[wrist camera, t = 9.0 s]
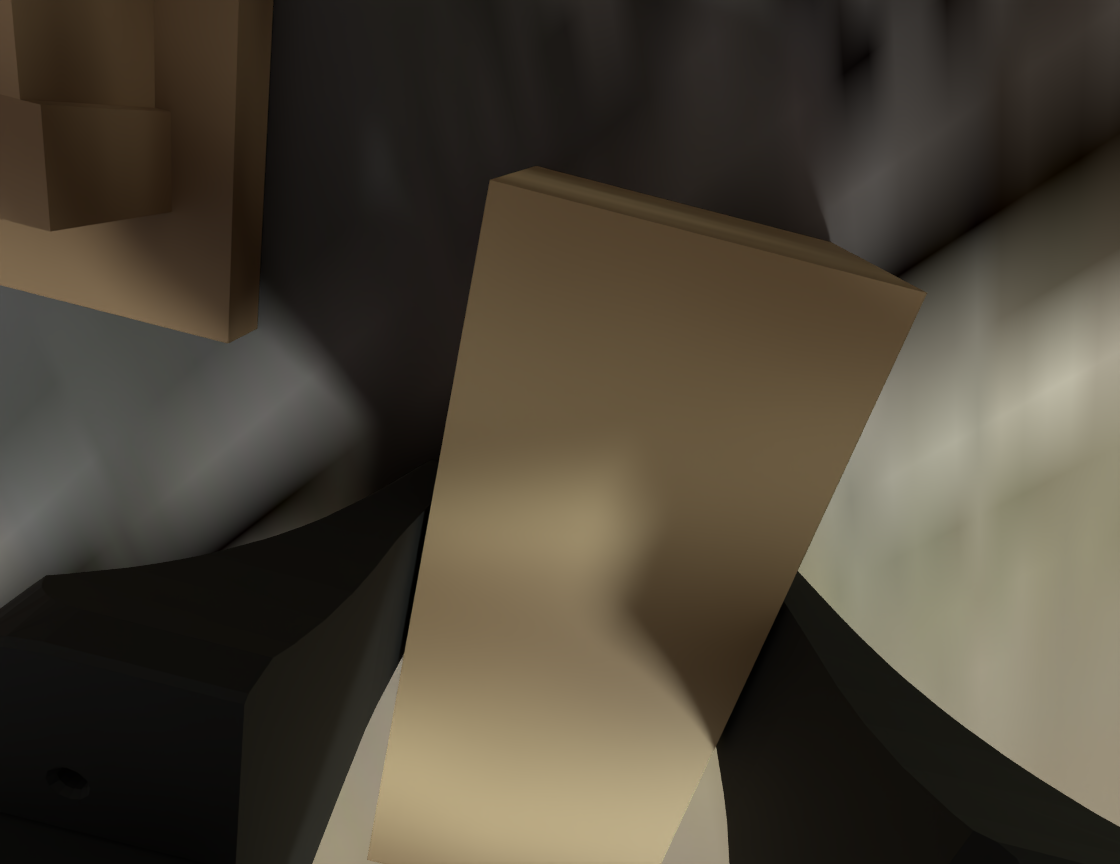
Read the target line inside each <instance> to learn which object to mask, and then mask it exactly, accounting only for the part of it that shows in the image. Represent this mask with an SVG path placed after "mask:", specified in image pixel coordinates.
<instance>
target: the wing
mask: <svg viewBox="0 0 1120 864" xmlns="http://www.w3.org/2000/svg"><path fill="white" fill-rule="evenodd" d="M926 294H927V293H926V292H924V291H922V290H920V289H918V288H916V287H915V286H913V285H911V284H909V283H907V282H905V281H903V280H901V279H899V278H898V277H896V276H894V275H892V274H890V273H888V272H886V271H884V270H882V269H881V268H879V267H877V266H875V265H873V264H871V263H869V262H867V261H865V260H864V259H862V258H860V257H858V256H856V255H854V254H852V253H850V252H848V251H846V250H845V249H843V248H841V247H839V246H837V245H835V244H833V243H831V242H828V241H824V240H820V239H817V238H813V237H809V236H805V235H801V234H797V233H793V232H790V231H786V230H782V229H778V228H774V227H770V226H766V225H763V224H759V223H755V222H751V221H747V220H743V219H739V218H736V217H732V216H728V215H724V214H720V213H716V212H712V211H709V210H705V209H701V208H697V207H693V206H689V205H685V204H681V203H678V202H674V201H670V200H666V199H662V198H658V197H654V196H651V195H647V194H643V193H639V192H635V191H631V190H627V189H624V188H620V187H616V186H612V185H608V184H604V183H600V182H597V181H593V180H589V179H585V178H581V177H577V176H573V175H570V174H566V173H562V172H558V171H554V170H550V169H546V168H543V167H539V166H534V167H531V168H527V169H524V170H521V171H518V172H514V173H511V174H508V175H504V176H501V177H498V178H494V179H491V180H490V182H489V187H488V193H487V198H486V204H485V209H484V215H483V221H482V226H481V232H480V237H479V243H478V248H477V254H476V259H475V265H474V270H473V276H472V281H471V287H470V293H469V298H468V304H467V309H466V315H465V320H464V326H463V331H462V337H461V342H460V348H459V353H458V359H457V365H456V370H455V376H454V381H453V387H452V392H451V398H450V403H449V409H448V414H447V420H446V425H445V431H444V437H443V442H442V448H441V453H440V459H439V464H438V470H437V475H436V481H435V486H434V492H433V497H432V503H431V509H430V514H429V520H428V525H427V531H426V536H425V542H424V547H423V553H422V558H421V564H420V569H419V575H418V581H417V586H416V592H415V597H414V603H413V608H412V614H411V619H410V625H409V630H408V636H407V641H406V647H405V653H404V658H403V664H402V669H401V675H400V680H399V686H398V691H397V697H396V702H395V708H394V713H393V719H392V725H391V730H390V736H389V741H388V747H387V752H386V758H385V763H384V769H383V774H382V780H381V785H380V791H379V797H378V802H377V808H376V813H375V819H374V824H373V830H372V835H371V841H370V846H369V852H368V857H367V860H370V861H374V862H378V863H382V864H661V863H662V861H663V859H664V856H665V854H666V852H667V850H668V848H669V846H670V844H671V841H672V839H673V837H674V835H675V833H676V831H677V829H678V826H679V824H680V822H681V820H682V818H683V816H684V814H685V811H686V809H687V807H688V805H689V803H690V801H691V799H692V796H693V794H694V792H695V790H696V788H697V786H698V783H699V781H700V779H701V777H702V775H703V773H704V771H705V768H706V766H707V764H708V762H709V760H710V758H711V756H712V753H713V751H714V749H715V747H716V745H717V743H718V741H719V738H720V736H721V734H722V732H723V730H724V728H725V726H726V723H727V721H728V719H729V717H730V715H731V713H732V711H733V708H734V706H735V704H736V702H737V700H738V698H739V695H740V693H741V691H742V689H743V687H744V685H745V683H746V680H747V678H748V676H749V674H750V672H751V670H752V668H753V665H754V663H755V661H756V659H757V657H758V655H759V653H760V650H761V648H762V646H763V644H764V642H765V640H766V638H767V635H768V633H769V631H770V629H771V627H772V625H773V623H774V620H775V618H776V616H777V614H778V612H779V610H780V607H781V605H782V603H783V601H784V599H785V597H786V595H787V592H788V590H789V588H790V586H791V584H792V582H793V580H794V577H795V575H796V573H797V571H798V569H799V567H800V565H801V562H802V560H803V558H804V556H805V554H806V552H807V550H808V547H809V545H810V543H811V541H812V539H813V537H814V535H815V532H816V530H817V528H818V526H819V524H820V522H821V520H822V517H823V515H824V513H825V511H826V509H827V507H828V504H829V502H830V500H831V498H832V496H833V494H834V492H835V489H836V487H837V485H838V483H839V481H840V479H841V477H842V474H843V472H844V470H845V468H846V466H847V464H848V462H849V459H850V457H851V455H852V453H853V451H854V449H855V447H856V444H857V442H858V440H859V438H860V436H861V434H862V432H863V429H864V427H865V425H866V423H867V421H868V419H869V416H870V414H871V412H872V410H873V408H874V406H875V404H876V401H877V399H878V397H879V395H880V393H881V391H882V389H883V386H884V384H885V382H886V380H887V378H888V376H889V374H890V371H891V369H892V367H893V365H894V363H895V361H896V359H897V356H898V354H899V352H900V350H901V348H902V346H903V344H904V341H905V339H906V337H907V335H908V333H909V331H910V328H911V326H912V324H913V322H914V320H915V318H916V316H917V313H918V311H919V309H920V307H921V305H922V303H923V301H924V298H925V296H926Z"/></svg>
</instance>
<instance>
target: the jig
mask: <svg viewBox="0 0 1120 864" xmlns="http://www.w3.org/2000/svg"><path fill="white" fill-rule="evenodd" d="M272 18H273V0H0V285H2V286H6V287H10V288H14V289H18V290H22V291H26V292H30V293H34V294H38V295H41V296H45V297H49V298H53V299H57V300H61V301H65V302H69V303H73V304H76V305H80V306H84V307H88V308H92V309H96V310H100V311H104V312H108V313H112V314H115V315H119V316H123V317H127V318H131V319H135V320H139V321H143V322H147V323H151V324H154V325H158V326H162V327H166V328H170V329H174V330H178V331H182V332H186V333H189V334H193V335H197V336H201V337H205V338H209V339H213V340H217V341H221V342H225V343H230V342H232V341H234V340H236V339H238V338H240V337H242V336H244V335H246V334H248V333H249V332H251V331H253V330H255V329H257V322H258V302H259V281H260V261H261V241H262V221H263V200H264V180H265V160H266V140H267V119H268V99H269V79H270V59H271V39H272Z"/></svg>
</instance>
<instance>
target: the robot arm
mask: <svg viewBox="0 0 1120 864" xmlns="http://www.w3.org/2000/svg"><path fill="white" fill-rule="evenodd" d="M438 464H439V462H438V461H434V460H430V461H428V462H427V463H425V464H423V465H421V466H419V467H418V468H416V469H414V470H413V471H411V472H409V473H408V474H406V475H404V476H403V477H401V478H399V479H398V480H396V481H394V482H392V483H391V484H389V485H387V486H386V487H384V488H382V489H380V490H378V491H377V492H375V493H373V494H371V495H369V496H368V497H366V498H364V499H362V500H360V501H358V502H356V503H354V504H352V505H350V506H348V507H346V508H344V509H341V510H339V511H337V512H335V513H333V514H331V515H329V516H327V517H324V518H322V519H320V520H317V521H315V522H312V523H310V524H307V525H305V526H302V527H299V528H297V529H294V530H291V531H288V532H285V533H282V534H279V535H277V536H273V537H270V538H267V539H264V540H260V541H256V542H252V543H249V544H245V545H241V546H237V547H234V548H230V549H226V550H222V551H219V552H215V553H210V554H206V555H201V556H196V557H191V558H186V559H181V560H175V561H169V562H163V563H157V564H151V565H144V566H137V567H130V568H121V569H111V570H101V571H91V572H81V573H72V574H60V575H46V576H45V577H43V578H42V579H41V580H39V581H38V582H36V583H35V584H33V585H32V586H31V587H29V588H28V589H26V590H25V591H24V592H22V593H21V594H20V595H18V596H17V597H15V598H14V599H13V600H11V601H10V602H9V603H7V604H6V605H5V606H3V607H2V608H1V609H0V864H312V863H313V860H314V858H315V855H316V852H317V850H318V847H319V845H320V842H321V839H322V837H323V834H324V832H325V829H326V827H327V824H328V822H329V819H330V816H331V814H332V811H333V809H334V806H335V804H336V801H337V799H338V796H339V794H340V791H341V788H342V786H343V783H344V781H345V778H346V776H347V773H348V771H349V768H350V766H351V764H352V761H353V759H354V756H355V754H356V751H357V749H358V746H359V744H360V741H361V739H362V736H363V734H364V731H365V729H366V727H367V725H368V723H369V720H370V718H371V716H372V714H373V712H374V710H375V708H376V706H377V704H378V702H379V700H380V698H381V696H382V694H383V692H384V690H385V688H386V687H387V685H388V683H389V681H390V679H391V677H392V675H393V673H394V671H395V670H396V668H397V666H398V664H399V662H400V660H401V658H402V656H403V654H404V652H405V647H406V641H407V636H408V630H409V625H410V619H411V614H412V608H413V603H414V597H415V592H416V586H417V581H418V575H419V569H420V564H421V558H422V553H423V547H424V542H425V536H426V531H427V525H428V520H429V514H430V509H431V503H432V497H433V492H434V486H435V481H436V475H437V470H438ZM716 748H717V754H718V760H719V767H720V773H721V779H722V785H723V791H724V799H725V807H726V816H727V827H728V845H729V863H730V864H1120V827H1119V826H1117V825H1115V824H1113V823H1112V822H1110V821H1108V820H1106V819H1104V818H1103V817H1101V816H1099V815H1097V814H1095V813H1094V812H1092V811H1090V810H1089V809H1087V808H1085V807H1084V806H1082V805H1081V804H1079V803H1077V802H1076V801H1074V800H1073V799H1071V798H1069V797H1068V796H1066V795H1064V794H1063V793H1061V792H1060V791H1058V790H1056V789H1055V788H1053V787H1052V786H1050V785H1048V784H1047V783H1045V782H1044V781H1042V780H1040V779H1039V778H1037V777H1036V776H1034V775H1033V774H1031V773H1030V772H1028V771H1027V770H1025V769H1024V768H1022V767H1021V766H1019V765H1018V764H1016V763H1015V762H1013V761H1012V760H1010V759H1009V758H1007V757H1006V756H1004V755H1003V754H1001V753H1000V752H999V751H997V750H996V749H995V748H993V747H992V746H990V745H989V744H988V743H986V742H985V741H983V740H982V739H981V738H979V737H978V736H976V735H975V734H974V733H972V732H971V731H969V730H968V729H967V728H965V727H964V726H963V725H961V724H960V723H959V722H957V721H956V720H955V719H953V718H952V717H951V716H950V715H948V714H947V713H946V712H944V711H943V710H942V709H941V708H939V707H938V706H937V705H936V704H935V703H933V702H932V701H931V700H930V699H928V698H927V697H926V696H925V695H924V694H922V693H921V692H920V691H919V690H918V689H916V688H915V687H914V686H913V685H912V684H910V683H909V682H908V681H907V680H906V679H905V678H903V677H902V676H901V675H900V674H899V673H898V672H897V671H895V670H894V669H893V668H892V667H891V666H890V665H889V664H888V663H887V662H886V661H885V660H884V659H883V658H882V657H880V656H879V655H878V654H877V653H876V652H875V651H874V650H873V649H872V648H871V647H870V646H869V645H868V644H867V643H866V642H865V641H864V640H863V639H862V638H861V637H860V636H859V635H858V634H857V633H856V632H855V631H854V630H853V629H852V628H851V627H850V626H849V625H848V624H847V623H846V622H845V621H844V620H843V619H842V618H841V617H840V616H839V615H838V614H837V613H836V612H835V611H834V610H833V609H832V607H831V606H830V605H829V604H828V603H827V602H826V601H825V600H824V599H823V598H822V597H821V596H820V595H819V594H818V592H817V591H816V590H815V589H814V588H813V587H812V586H811V585H810V584H809V583H808V582H807V581H806V579H805V578H804V577H803V576H802V575H801V574H800V573H799V572H798V571H797V573H796V575H795V577H794V580H793V582H792V584H791V586H790V588H789V590H788V592H787V595H786V597H785V599H784V601H783V603H782V605H781V607H780V610H779V612H778V614H777V616H776V618H775V620H774V623H773V625H772V627H771V629H770V631H769V633H768V635H767V638H766V640H765V642H764V644H763V646H762V648H761V650H760V653H759V655H758V657H757V659H756V661H755V663H754V665H753V668H752V670H751V672H750V674H749V676H748V678H747V680H746V683H745V685H744V687H743V689H742V691H741V693H740V695H739V698H738V700H737V702H736V704H735V706H734V708H733V711H732V713H731V715H730V717H729V719H728V721H727V723H726V726H725V728H724V730H723V732H722V734H721V736H720V738H719V741H718V743H717V745H716Z"/></svg>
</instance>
